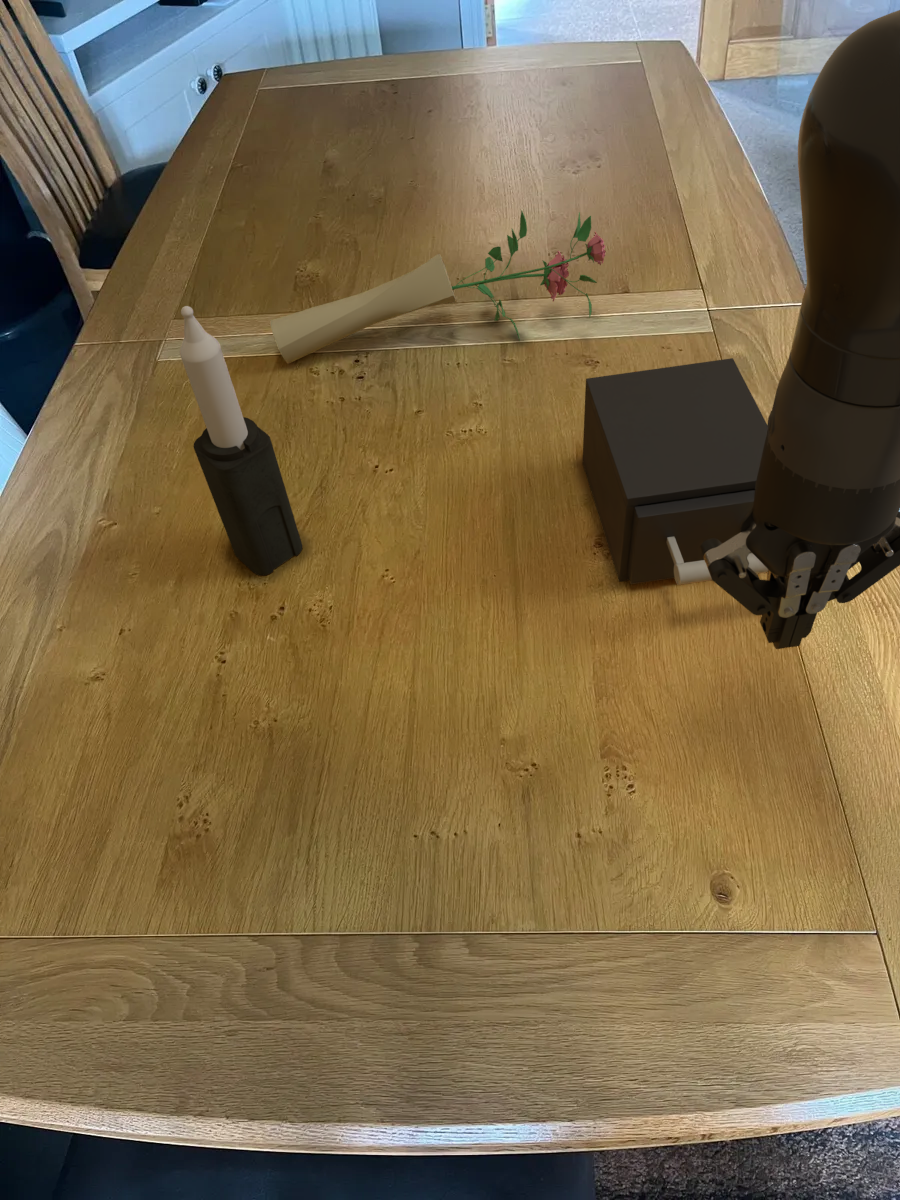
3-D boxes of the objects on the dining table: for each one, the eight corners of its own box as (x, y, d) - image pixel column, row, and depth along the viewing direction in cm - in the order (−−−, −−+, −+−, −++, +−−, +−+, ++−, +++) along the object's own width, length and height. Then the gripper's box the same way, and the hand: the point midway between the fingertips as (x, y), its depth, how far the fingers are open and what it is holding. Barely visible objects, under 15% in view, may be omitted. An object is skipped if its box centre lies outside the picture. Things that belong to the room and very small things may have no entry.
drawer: (787, 605, 74) (809, 538, 68) (643, 626, 74) (652, 560, 68) (719, 454, 86) (733, 385, 79) (594, 472, 85) (598, 403, 79)
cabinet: (769, 560, 78) (793, 475, 71) (619, 582, 78) (627, 498, 71) (716, 444, 88) (733, 357, 80) (582, 463, 88) (585, 378, 80)
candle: (274, 520, 86) (196, 277, 67) (308, 548, 83) (236, 304, 64) (229, 550, 84) (134, 309, 65) (261, 580, 82) (173, 338, 62)
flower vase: (316, 393, 109) (604, 286, 105) (310, 435, 99) (629, 319, 95) (272, 297, 103) (577, 179, 98) (261, 331, 93) (600, 201, 88)
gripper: (739, 503, 46) (698, 699, 59) (1007, 464, 46) (905, 669, 59) (696, 406, 50) (667, 608, 64) (938, 371, 50) (859, 580, 64)
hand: (782, 637), depth 61 cm, fingers closed
